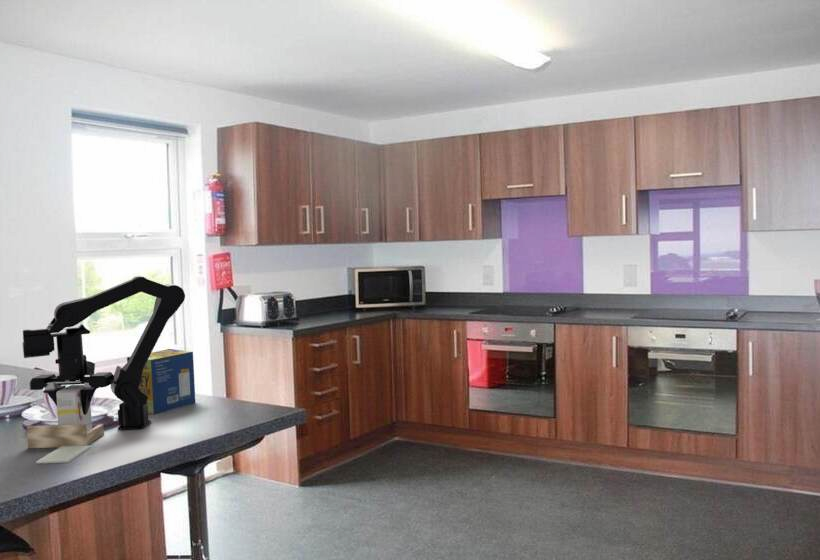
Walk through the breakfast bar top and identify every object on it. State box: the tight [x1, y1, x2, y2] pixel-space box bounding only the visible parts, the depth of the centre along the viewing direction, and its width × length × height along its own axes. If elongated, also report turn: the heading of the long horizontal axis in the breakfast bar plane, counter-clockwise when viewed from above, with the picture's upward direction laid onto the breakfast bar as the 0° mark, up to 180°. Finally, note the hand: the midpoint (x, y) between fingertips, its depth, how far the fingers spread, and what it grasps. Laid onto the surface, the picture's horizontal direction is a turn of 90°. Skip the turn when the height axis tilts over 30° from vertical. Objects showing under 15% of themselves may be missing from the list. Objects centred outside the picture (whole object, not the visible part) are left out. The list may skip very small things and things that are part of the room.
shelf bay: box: [26, 423, 105, 449], centre depth 172 cm, size 14×10×5 cm
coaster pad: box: [35, 445, 91, 464], centre depth 160 cm, size 7×11×1 cm, turn 0°
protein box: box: [126, 348, 196, 415], centre depth 204 cm, size 10×15×16 cm
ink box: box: [56, 384, 93, 431], centre depth 176 cm, size 9×5×12 cm, turn 1°
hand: (74, 414), depth 176 cm, fingers closed on ink box, 5 cm apart
